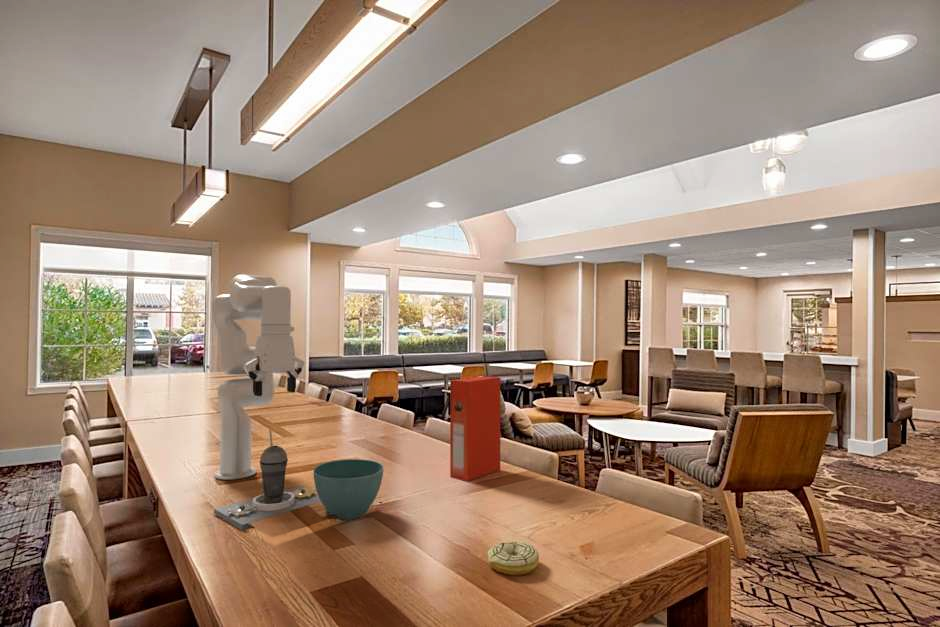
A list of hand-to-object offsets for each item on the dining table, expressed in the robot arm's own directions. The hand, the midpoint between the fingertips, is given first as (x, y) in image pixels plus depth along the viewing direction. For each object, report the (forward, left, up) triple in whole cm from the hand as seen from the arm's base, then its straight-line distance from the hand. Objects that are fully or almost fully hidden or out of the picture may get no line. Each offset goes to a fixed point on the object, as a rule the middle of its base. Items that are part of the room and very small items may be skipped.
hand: (274, 393), depth 143 cm
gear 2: (0, +9, -30) cm, 31 cm away
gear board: (0, 0, -31) cm, 31 cm away
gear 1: (0, -9, -30) cm, 31 cm away
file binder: (+19, +62, -32) cm, 73 cm away
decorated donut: (+68, +17, -32) cm, 77 cm away
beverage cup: (0, 0, -30) cm, 30 cm away
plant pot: (+18, +11, -32) cm, 38 cm away
